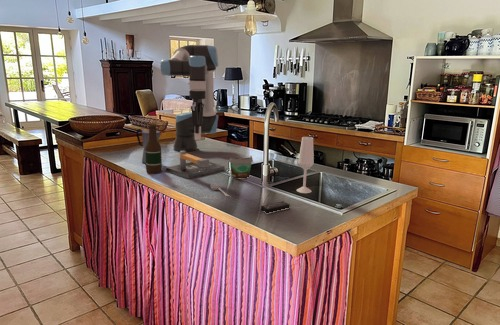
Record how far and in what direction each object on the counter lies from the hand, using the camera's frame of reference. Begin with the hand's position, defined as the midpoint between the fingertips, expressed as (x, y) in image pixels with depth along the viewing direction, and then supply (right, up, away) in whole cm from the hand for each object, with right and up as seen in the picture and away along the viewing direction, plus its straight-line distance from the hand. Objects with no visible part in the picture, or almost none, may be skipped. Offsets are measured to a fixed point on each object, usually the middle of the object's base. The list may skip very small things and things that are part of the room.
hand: (197, 139), depth 180 cm
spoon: (+14, -25, -20) cm, 35 cm away
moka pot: (-30, -11, +26) cm, 42 cm away
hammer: (-2, -16, 0) cm, 16 cm away
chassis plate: (-3, -15, +12) cm, 20 cm away
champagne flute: (+49, -24, -14) cm, 56 cm away
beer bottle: (-23, -16, +8) cm, 29 cm away
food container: (+22, -19, +3) cm, 29 cm away
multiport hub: (+35, -30, -37) cm, 59 cm away
